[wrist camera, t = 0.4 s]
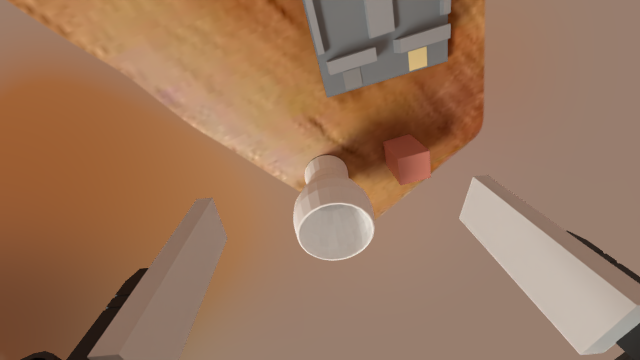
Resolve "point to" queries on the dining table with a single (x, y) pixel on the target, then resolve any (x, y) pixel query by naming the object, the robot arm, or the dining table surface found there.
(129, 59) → the dining table surface
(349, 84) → the panel
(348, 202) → the cup
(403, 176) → the cap
